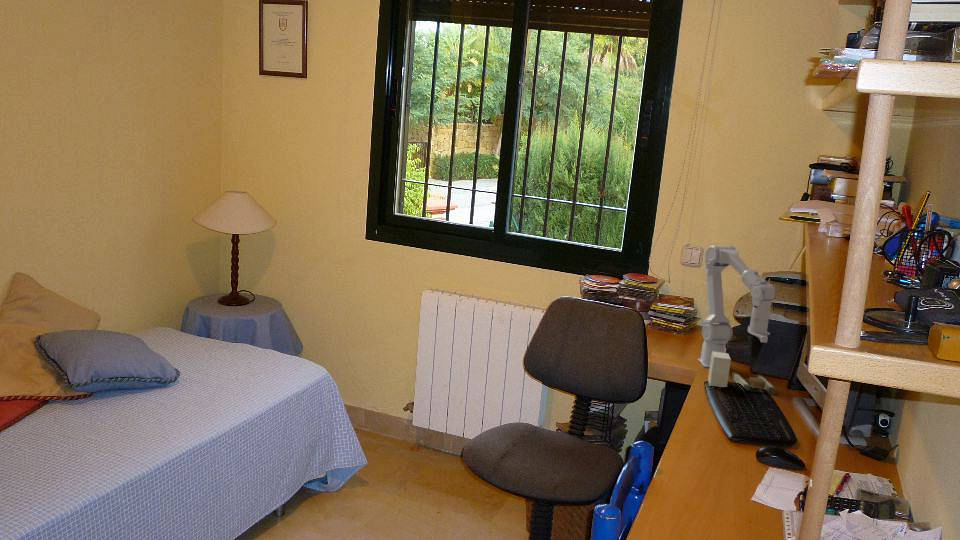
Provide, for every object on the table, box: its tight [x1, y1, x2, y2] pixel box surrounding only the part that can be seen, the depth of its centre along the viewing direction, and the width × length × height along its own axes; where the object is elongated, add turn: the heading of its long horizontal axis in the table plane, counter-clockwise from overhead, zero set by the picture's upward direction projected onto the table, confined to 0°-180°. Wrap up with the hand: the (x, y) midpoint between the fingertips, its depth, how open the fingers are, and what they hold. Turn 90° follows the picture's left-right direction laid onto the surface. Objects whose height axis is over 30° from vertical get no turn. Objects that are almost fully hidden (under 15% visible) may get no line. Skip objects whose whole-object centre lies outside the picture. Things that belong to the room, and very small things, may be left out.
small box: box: [707, 351, 732, 388], centre depth 269 cm, size 8×6×10 cm
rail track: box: [731, 372, 777, 396], centre depth 272 cm, size 15×10×2 cm, turn 0°
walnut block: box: [748, 376, 766, 391], centre depth 269 cm, size 4×4×4 cm
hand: (753, 357), depth 274 cm, fingers closed
